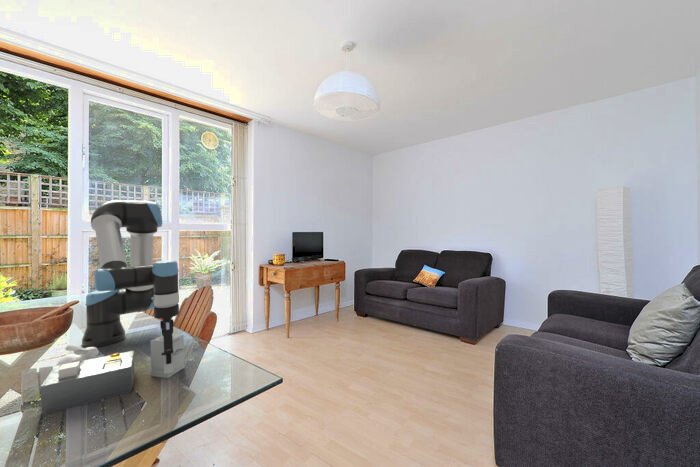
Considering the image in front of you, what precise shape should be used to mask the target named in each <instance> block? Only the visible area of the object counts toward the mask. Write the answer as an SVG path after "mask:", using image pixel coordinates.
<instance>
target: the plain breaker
mask: <svg viewBox="0 0 700 467" xmlns="http://www.w3.org/2000/svg"><path fill="white" fill-rule="evenodd" d="M79 373H80V361H78V362H73V363H67V364H62V365H61V367H60V368H59V370H58V374H59V379H61V378H65V377H70V376H75V375H79Z"/></svg>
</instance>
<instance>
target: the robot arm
mask: <svg viewBox="0 0 700 467" xmlns="http://www.w3.org/2000/svg"><path fill="white" fill-rule="evenodd" d="M90 225H91V229H92V230H93V231H94V232H95V238H96V244H97V245H96V246H97V254H98V260H99V267H100V268H99V269H95V271H94V273H93V281H94V288H95V290H93V291H91V292H89V293H88V294H86V296H85V297H86V298H85V303H84V304H85V306H86V309H85V310H86V328H85V330H84V334H83V335H82V338H81V346H82V347H83V348H84V347H85V348H87V347H95V348H97V347H103V346H107V345H108V346H109V345H111V344H115V343H117V342H120V341H122V340H124V339H125V338H126V330H125V329H124V326H123V324H122V322H121V315H127V314H132V313H133V314H135V313H139V312H146V311H150V310H153V317H154V319H162V320H160V322H159V324H160V329H161V336H162V335H163V337H164V353H161V355H164V374H166V373H170V372H174V369H173V341H172V334H174V324H175V323H174V319H172V318H173V317H177V316H178V315H179V313H180V304H179V302H180V297H179V296H180V291H179V267H178V266H179V265H178V262H177V261H176V260H158V261H155V262H153V255H154V254H153V253H154V252H153V251H154V235H155V234H156V233H157V232H158V229H159V228H161V227H162V226H163V216H162V211H161V208H160V205H159V204H158V203H157V202H155V201H148V200H119V199H114V200H110V201H107V202H104V203H103V204H101V205H100V206H98V207H97V208H96V209H95V210H94V211H93V213H92V214H91V217H90ZM121 228H126V232H127V233H128V234H130V244H129V245H130V247H129V248H130V250H129V252H130V253H129V266H128V261H127V257H126V252H125V248H124V242H123V238H122V237H123V236H122V233H121ZM169 349H171V350H169ZM166 350H167V351H166Z"/></svg>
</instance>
